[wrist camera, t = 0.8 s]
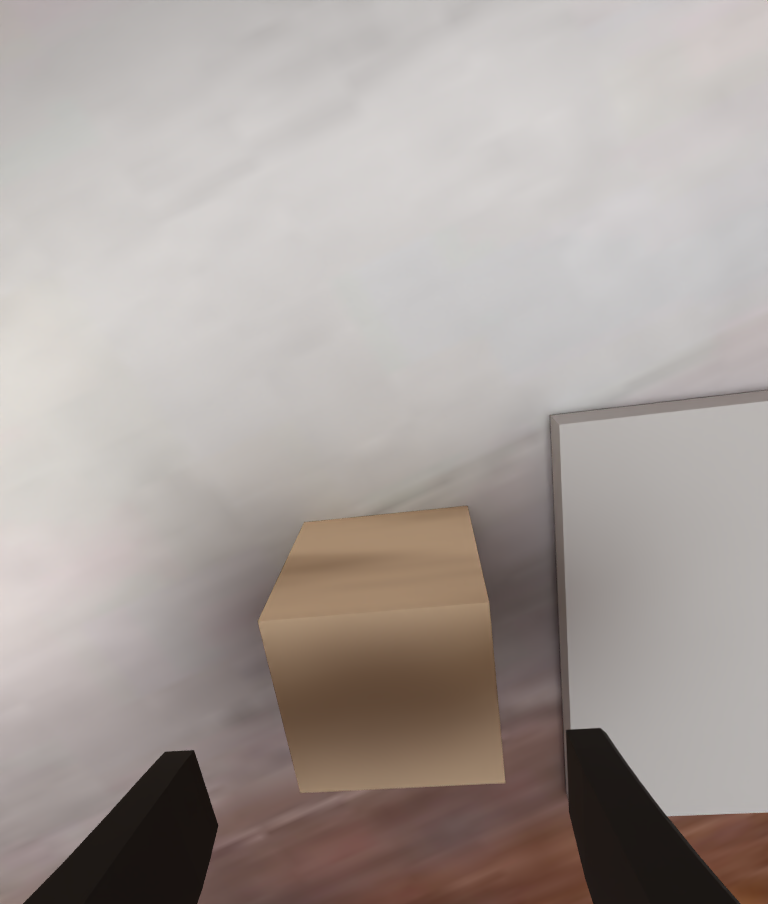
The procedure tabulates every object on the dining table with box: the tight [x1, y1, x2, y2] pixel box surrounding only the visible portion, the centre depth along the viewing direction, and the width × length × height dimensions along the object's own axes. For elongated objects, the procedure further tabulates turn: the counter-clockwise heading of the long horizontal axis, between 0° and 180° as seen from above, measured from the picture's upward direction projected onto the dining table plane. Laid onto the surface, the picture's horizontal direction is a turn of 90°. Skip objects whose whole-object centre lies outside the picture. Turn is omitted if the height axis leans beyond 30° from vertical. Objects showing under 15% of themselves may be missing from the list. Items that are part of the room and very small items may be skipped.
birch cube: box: [258, 506, 505, 793], centre depth 14 cm, size 5×5×5 cm
